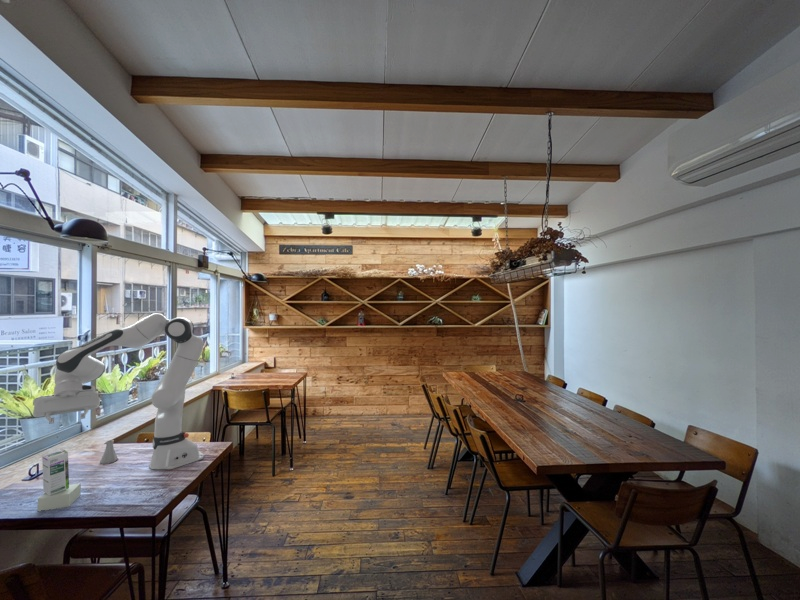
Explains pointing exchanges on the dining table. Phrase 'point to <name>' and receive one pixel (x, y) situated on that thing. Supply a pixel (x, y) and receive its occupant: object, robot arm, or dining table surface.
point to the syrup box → (55, 472)
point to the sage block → (59, 498)
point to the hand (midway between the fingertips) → (67, 420)
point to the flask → (109, 453)
